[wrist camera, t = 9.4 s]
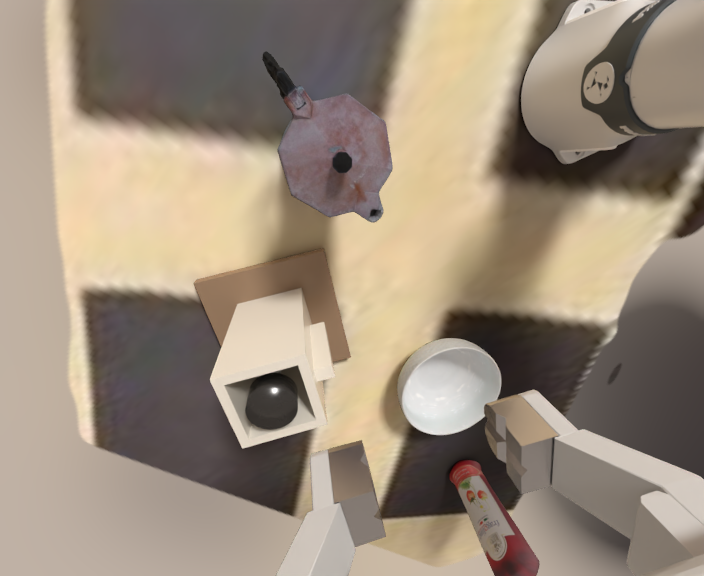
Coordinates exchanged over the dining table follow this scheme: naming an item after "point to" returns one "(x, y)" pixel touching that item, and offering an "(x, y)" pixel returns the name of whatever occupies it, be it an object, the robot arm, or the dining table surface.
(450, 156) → the dining table surface
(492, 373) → the cereal bowl
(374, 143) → the moka pot
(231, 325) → the hollow square stand
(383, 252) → the dining table surface
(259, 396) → the dark-topped thin piece
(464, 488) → the liquor
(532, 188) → the dining table surface
